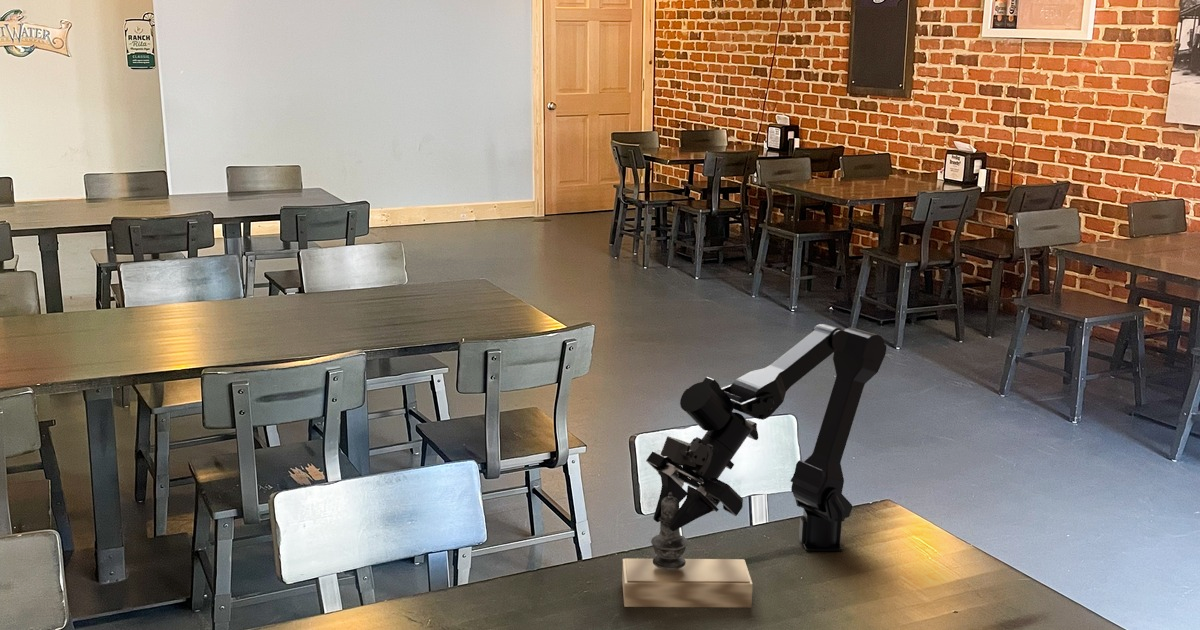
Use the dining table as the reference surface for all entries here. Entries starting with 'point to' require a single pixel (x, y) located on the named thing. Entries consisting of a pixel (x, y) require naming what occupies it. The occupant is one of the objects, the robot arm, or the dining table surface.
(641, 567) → the tan wooden block
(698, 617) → the dining table surface
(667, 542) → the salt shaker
